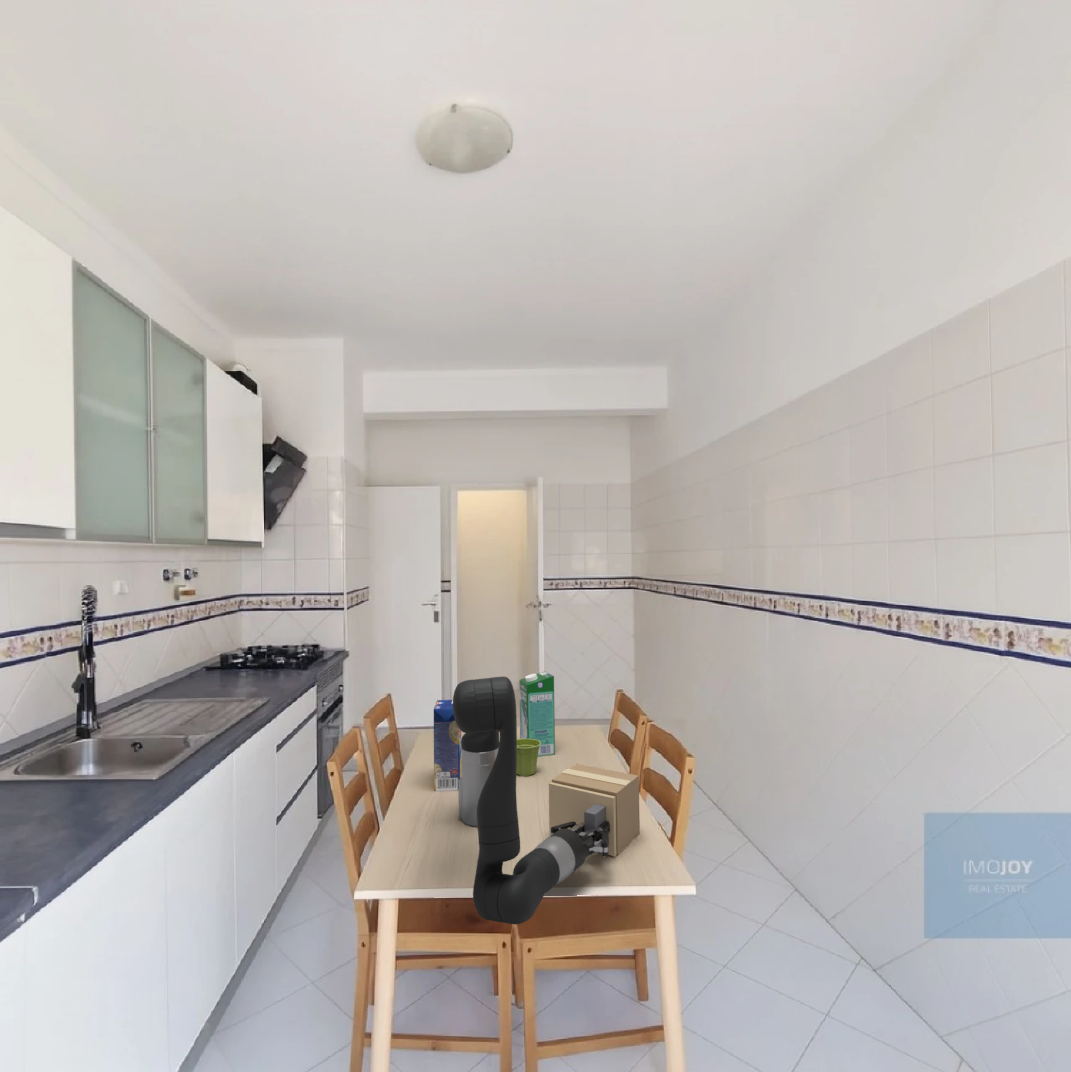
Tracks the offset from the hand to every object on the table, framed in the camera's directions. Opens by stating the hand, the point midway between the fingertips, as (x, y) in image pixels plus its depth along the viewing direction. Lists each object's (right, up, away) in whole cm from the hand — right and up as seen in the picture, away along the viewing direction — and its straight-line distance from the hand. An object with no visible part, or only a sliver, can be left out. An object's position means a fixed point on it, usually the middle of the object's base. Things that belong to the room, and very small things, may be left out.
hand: (600, 824), depth 132 cm
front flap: (-5, -6, +1) cm, 8 cm away
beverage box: (-38, -8, +42) cm, 58 cm away
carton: (0, -7, +9) cm, 11 cm away
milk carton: (-13, -9, +69) cm, 71 cm away
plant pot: (-17, -8, +50) cm, 54 cm away
